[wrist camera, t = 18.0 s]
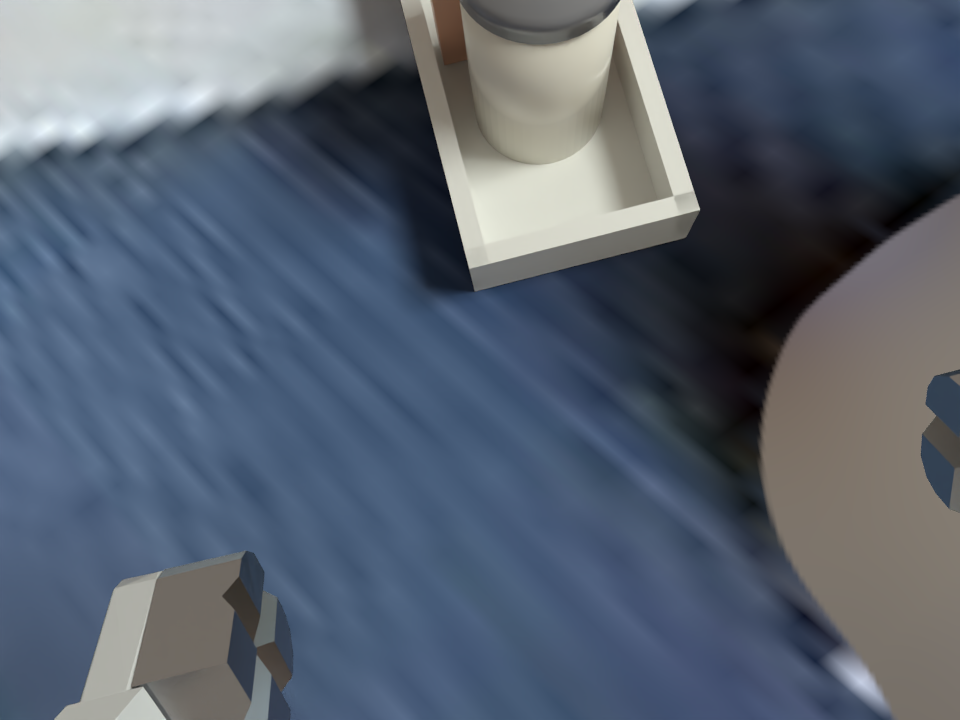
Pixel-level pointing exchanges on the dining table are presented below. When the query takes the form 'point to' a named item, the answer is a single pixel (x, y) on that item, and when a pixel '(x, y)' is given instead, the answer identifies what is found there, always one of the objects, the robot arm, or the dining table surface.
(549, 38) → the jar
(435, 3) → the spring pusher
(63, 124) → the dining table surface
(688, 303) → the dining table surface
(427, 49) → the pusher lane
